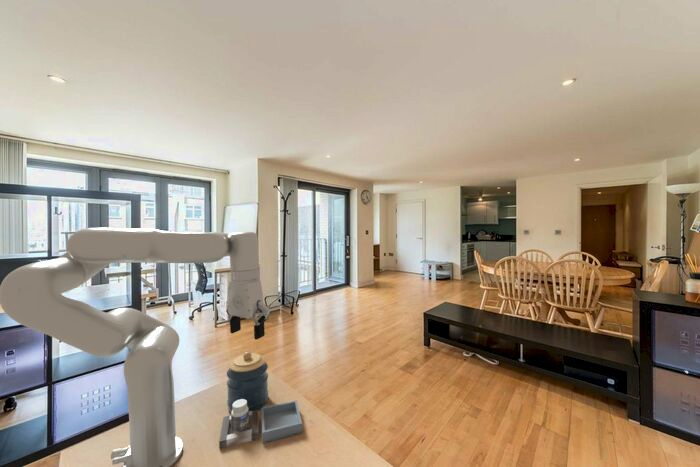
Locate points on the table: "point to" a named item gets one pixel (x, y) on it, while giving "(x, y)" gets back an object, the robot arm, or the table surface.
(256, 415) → the socket block
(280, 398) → the table surface
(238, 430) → the pill bottle
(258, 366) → the canister
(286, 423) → the tray
